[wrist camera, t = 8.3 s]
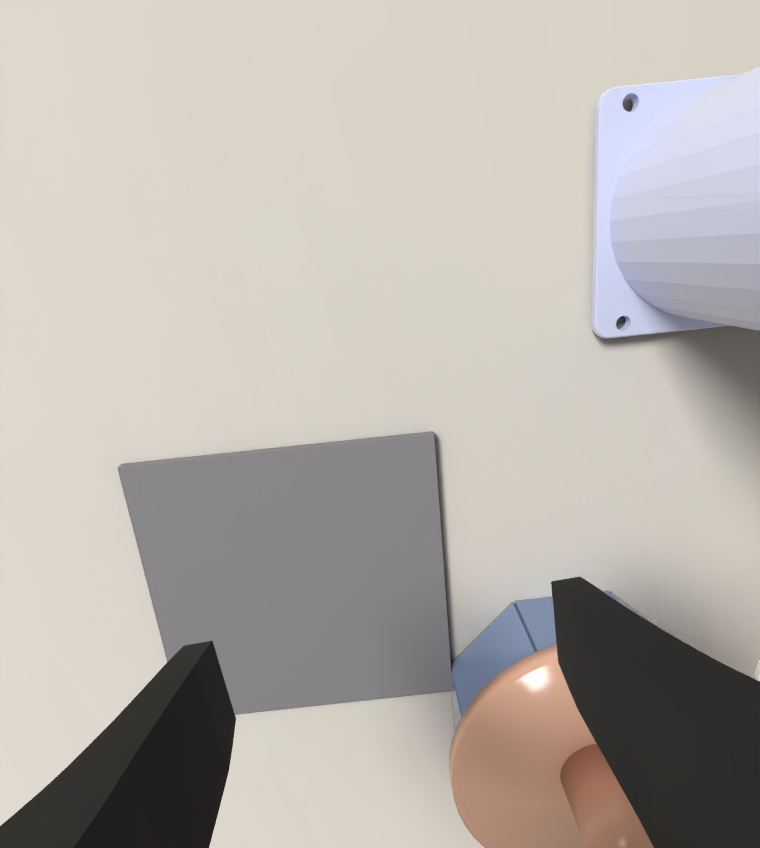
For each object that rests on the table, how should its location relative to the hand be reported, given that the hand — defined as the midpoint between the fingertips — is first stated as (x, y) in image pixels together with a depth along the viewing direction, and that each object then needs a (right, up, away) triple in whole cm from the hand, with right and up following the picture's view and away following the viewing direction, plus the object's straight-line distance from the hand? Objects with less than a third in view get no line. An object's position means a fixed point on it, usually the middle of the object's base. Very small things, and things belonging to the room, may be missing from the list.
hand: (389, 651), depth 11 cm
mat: (-4, -2, +11) cm, 12 cm away
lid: (+8, -8, +10) cm, 15 cm away
